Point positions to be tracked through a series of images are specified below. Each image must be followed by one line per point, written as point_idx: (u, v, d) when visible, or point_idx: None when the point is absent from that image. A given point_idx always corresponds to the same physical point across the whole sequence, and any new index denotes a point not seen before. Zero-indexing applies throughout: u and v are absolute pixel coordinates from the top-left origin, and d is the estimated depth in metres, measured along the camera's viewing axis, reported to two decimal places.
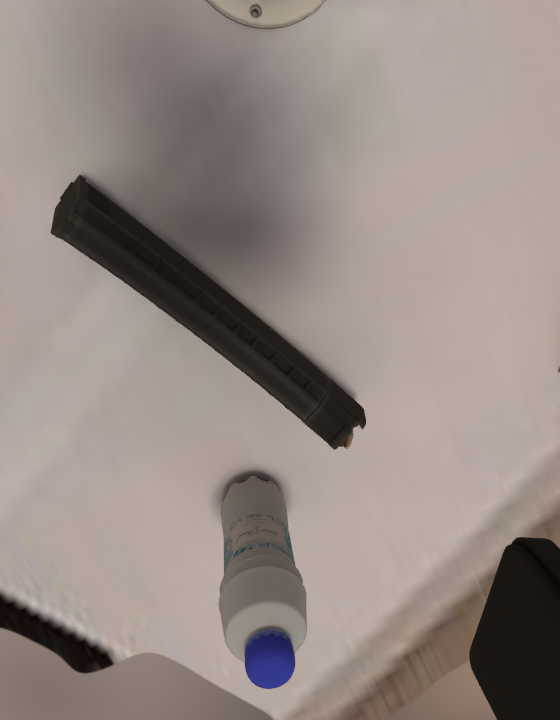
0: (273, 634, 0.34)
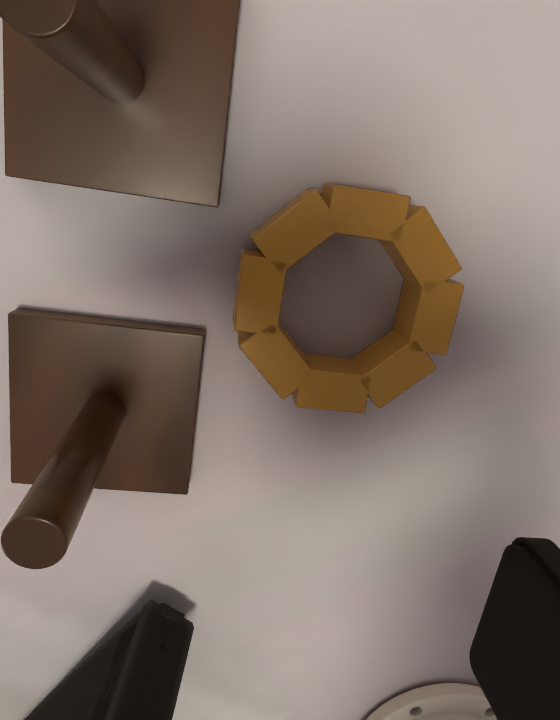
0: None
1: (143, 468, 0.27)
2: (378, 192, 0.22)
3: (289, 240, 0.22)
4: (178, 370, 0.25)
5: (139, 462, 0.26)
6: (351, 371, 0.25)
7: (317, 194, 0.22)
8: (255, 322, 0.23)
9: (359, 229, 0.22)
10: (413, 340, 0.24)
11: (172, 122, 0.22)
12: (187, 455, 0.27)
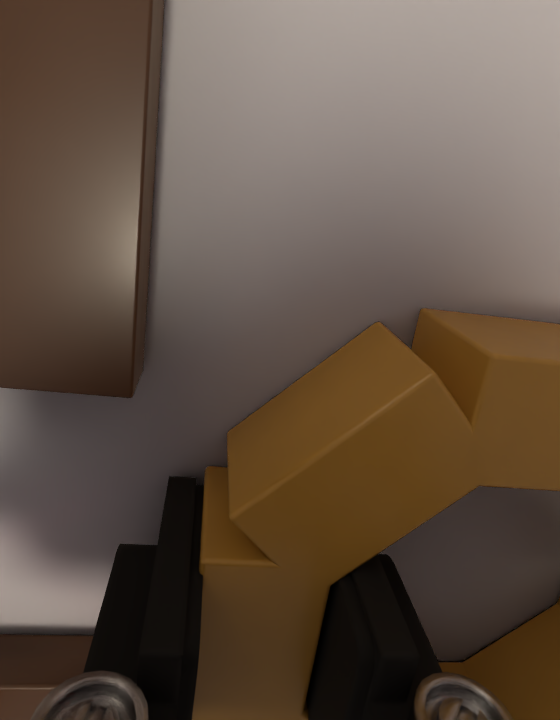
0: None
1: None
2: None
3: (342, 516, 0.07)
4: None
5: None
6: None
7: (438, 387, 0.07)
8: (242, 709, 0.08)
9: (554, 473, 0.07)
10: None
11: None
12: None
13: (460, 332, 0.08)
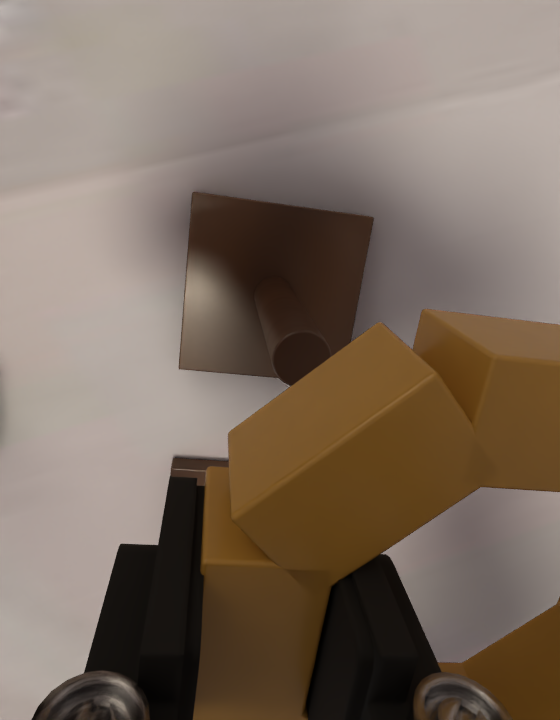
0: None
1: None
2: None
3: (344, 516, 0.07)
4: None
5: None
6: None
7: (440, 388, 0.07)
8: (243, 709, 0.08)
9: (556, 475, 0.07)
10: None
11: None
12: None
13: (462, 333, 0.08)
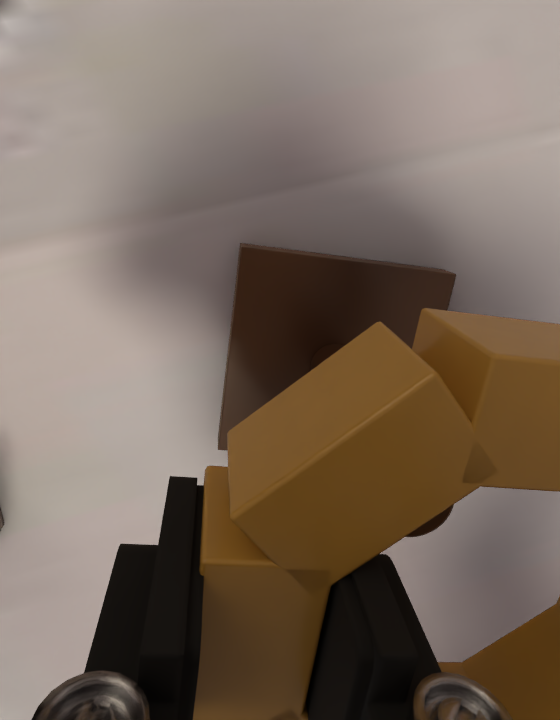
0: None
1: None
2: None
3: (343, 516, 0.07)
4: None
5: None
6: None
7: (439, 387, 0.07)
8: (242, 709, 0.08)
9: (555, 474, 0.07)
10: None
11: None
12: None
13: (461, 332, 0.08)
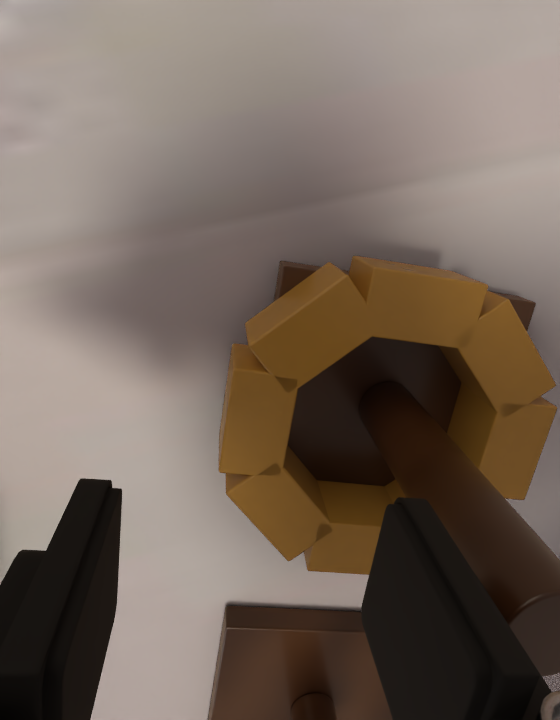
0: None
1: None
2: (441, 278, 0.14)
3: (303, 348, 0.15)
4: None
5: None
6: None
7: (348, 282, 0.14)
8: (250, 461, 0.16)
9: (409, 332, 0.15)
10: None
11: None
12: None
13: (366, 262, 0.15)
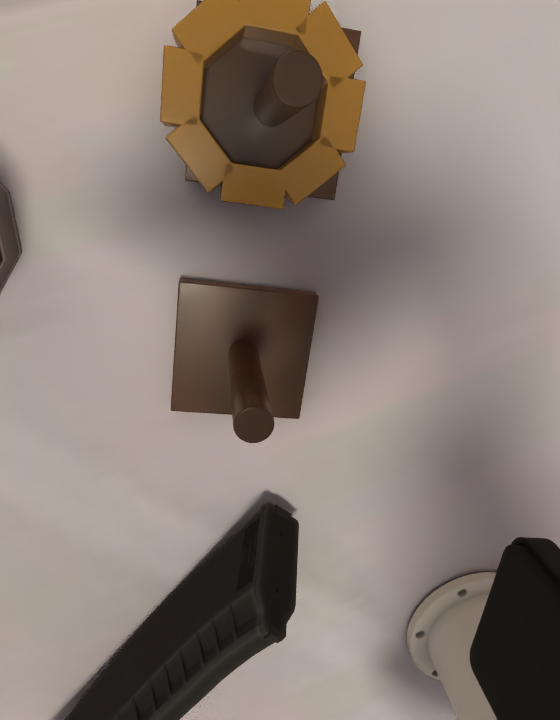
0: None
1: (268, 398, 0.35)
2: None
3: (204, 31, 0.25)
4: (298, 322, 0.34)
5: None
6: None
7: None
8: (179, 113, 0.26)
9: (267, 22, 0.25)
10: (323, 136, 0.27)
11: (305, 139, 0.30)
12: (301, 388, 0.35)
13: None
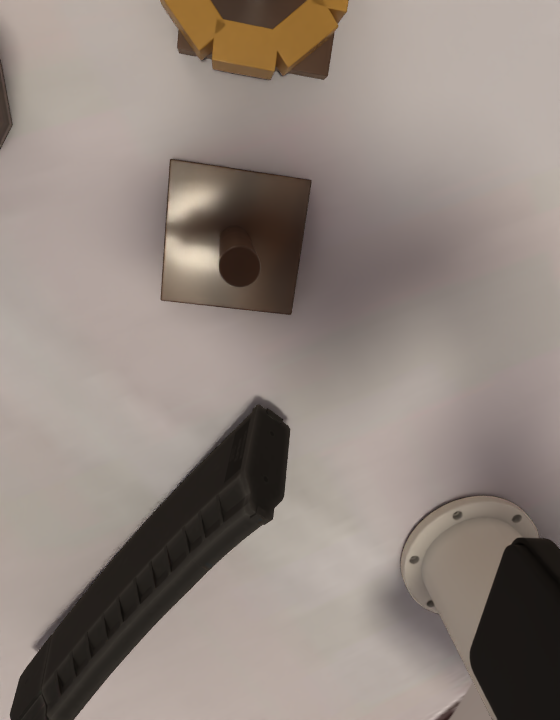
0: None
1: (259, 291, 0.35)
2: None
3: None
4: (290, 208, 0.33)
5: (257, 285, 0.35)
6: None
7: None
8: None
9: None
10: None
11: None
12: (293, 280, 0.35)
13: None
